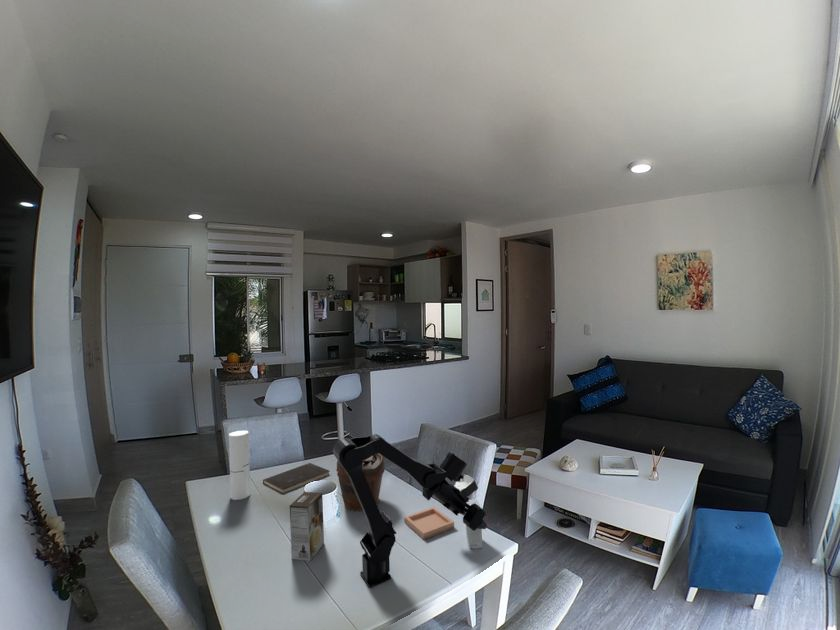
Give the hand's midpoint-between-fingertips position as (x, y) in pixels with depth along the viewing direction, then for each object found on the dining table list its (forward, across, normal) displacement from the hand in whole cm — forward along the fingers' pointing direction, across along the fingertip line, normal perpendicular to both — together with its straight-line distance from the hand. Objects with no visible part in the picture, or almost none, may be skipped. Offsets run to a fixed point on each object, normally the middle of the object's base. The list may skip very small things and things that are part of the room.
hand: (477, 520), depth 121 cm
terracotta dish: (-2, +15, +11) cm, 19 cm away
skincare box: (+4, 0, +6) cm, 7 cm away
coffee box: (-29, +21, +38) cm, 52 cm away
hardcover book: (-24, +77, +34) cm, 87 cm away
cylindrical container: (-40, +72, +50) cm, 96 cm away
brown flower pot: (-12, +42, +21) cm, 49 cm away
